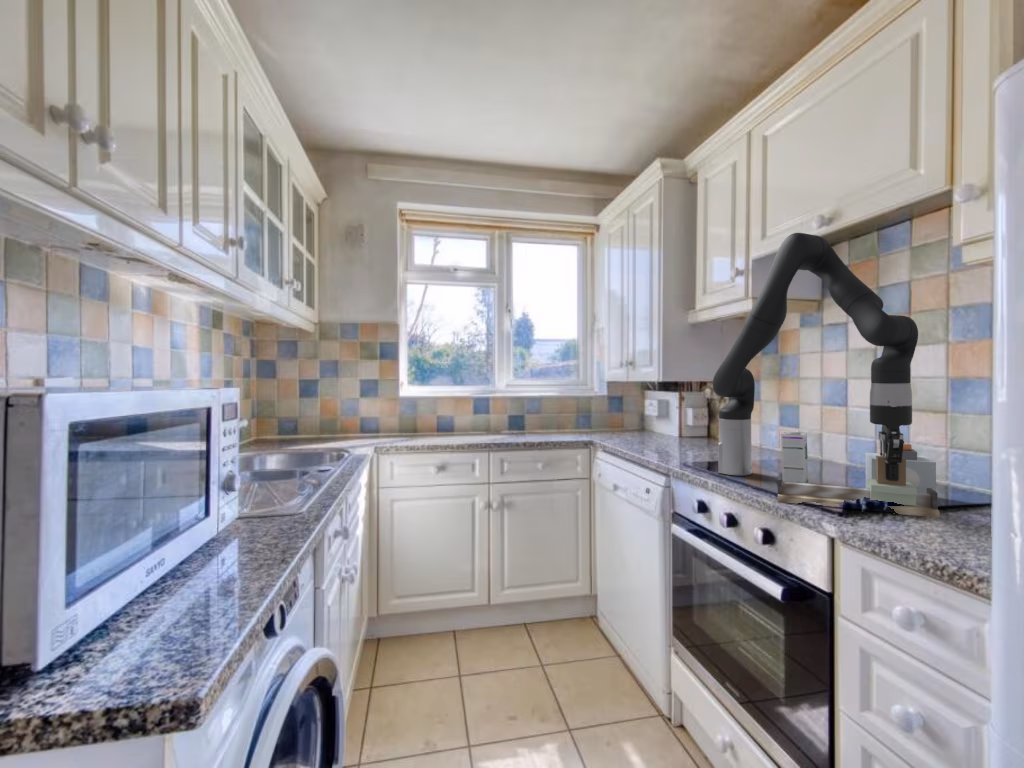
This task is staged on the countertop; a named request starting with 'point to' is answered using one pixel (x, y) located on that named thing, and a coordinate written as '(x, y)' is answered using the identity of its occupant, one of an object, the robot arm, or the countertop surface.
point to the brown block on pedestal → (891, 485)
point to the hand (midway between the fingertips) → (890, 478)
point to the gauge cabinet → (909, 470)
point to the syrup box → (794, 457)
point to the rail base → (839, 501)
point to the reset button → (907, 447)
